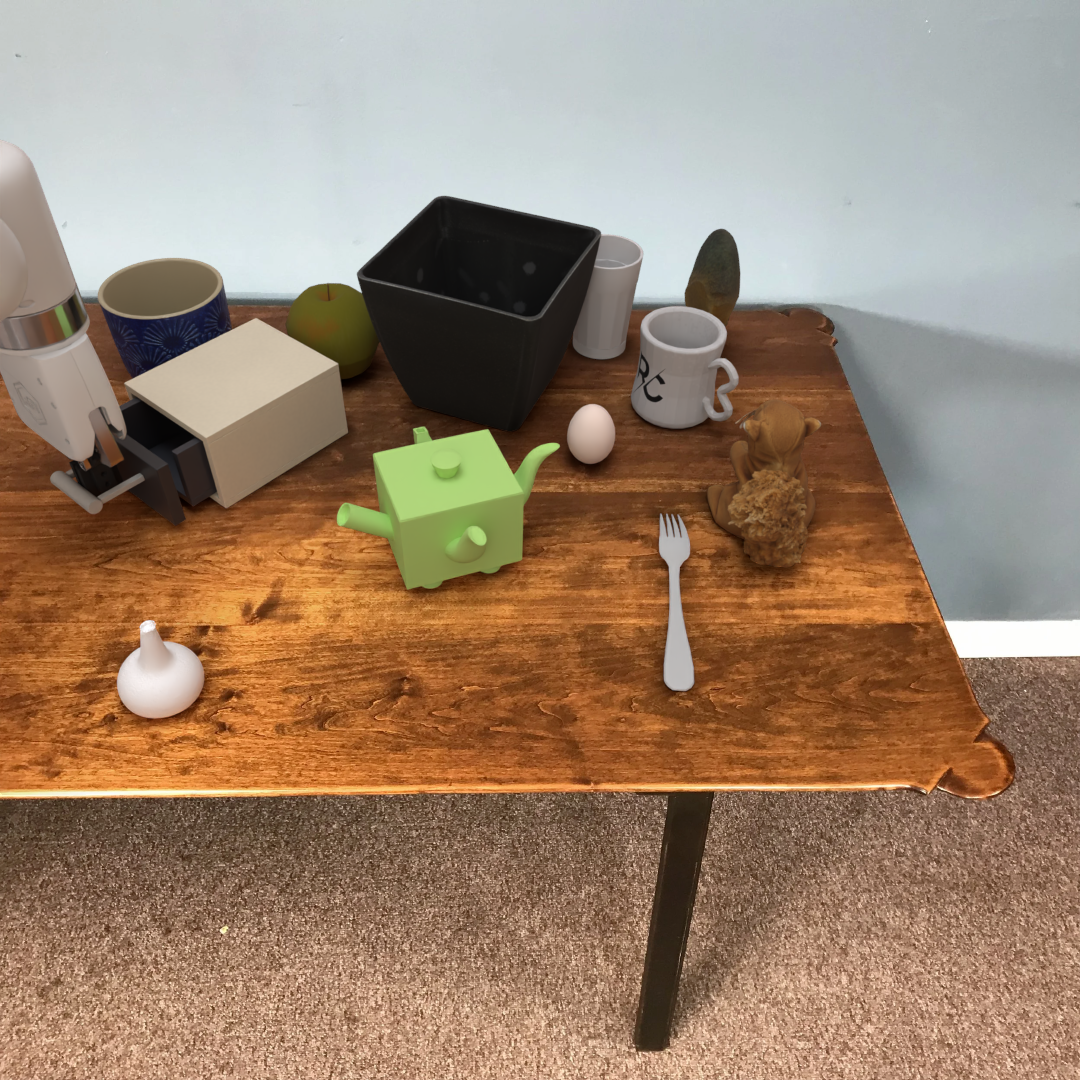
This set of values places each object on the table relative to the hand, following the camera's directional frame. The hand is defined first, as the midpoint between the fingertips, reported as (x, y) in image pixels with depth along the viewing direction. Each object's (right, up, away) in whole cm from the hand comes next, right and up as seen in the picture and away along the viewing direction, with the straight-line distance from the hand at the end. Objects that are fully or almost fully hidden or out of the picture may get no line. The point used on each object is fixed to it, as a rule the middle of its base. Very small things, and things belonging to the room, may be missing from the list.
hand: (104, 491), depth 83 cm
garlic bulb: (+10, -17, -11) cm, 22 cm away
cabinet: (+10, +6, +11) cm, 16 cm away
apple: (+17, +15, +21) cm, 31 cm away
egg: (+45, +4, +11) cm, 46 cm away
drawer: (+4, +2, +6) cm, 8 cm away
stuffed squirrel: (+61, -4, +4) cm, 61 cm away
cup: (+47, +19, +27) cm, 57 cm away
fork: (+51, -9, -2) cm, 52 cm away
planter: (0, +14, +20) cm, 24 cm away
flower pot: (+33, +12, +19) cm, 40 cm away
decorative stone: (+59, +18, +26) cm, 67 cm away
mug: (+55, +9, +17) cm, 58 cm away
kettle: (+32, -6, +1) cm, 32 cm away
